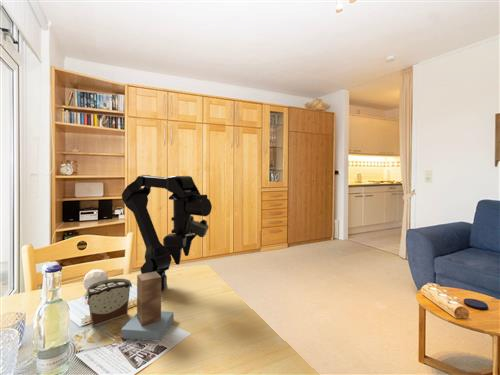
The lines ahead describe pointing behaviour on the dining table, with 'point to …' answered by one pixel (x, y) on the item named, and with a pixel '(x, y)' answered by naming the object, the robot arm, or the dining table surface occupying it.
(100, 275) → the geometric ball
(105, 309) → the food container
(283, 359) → the dining table surface
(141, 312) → the walnut block
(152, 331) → the slate-blue block
